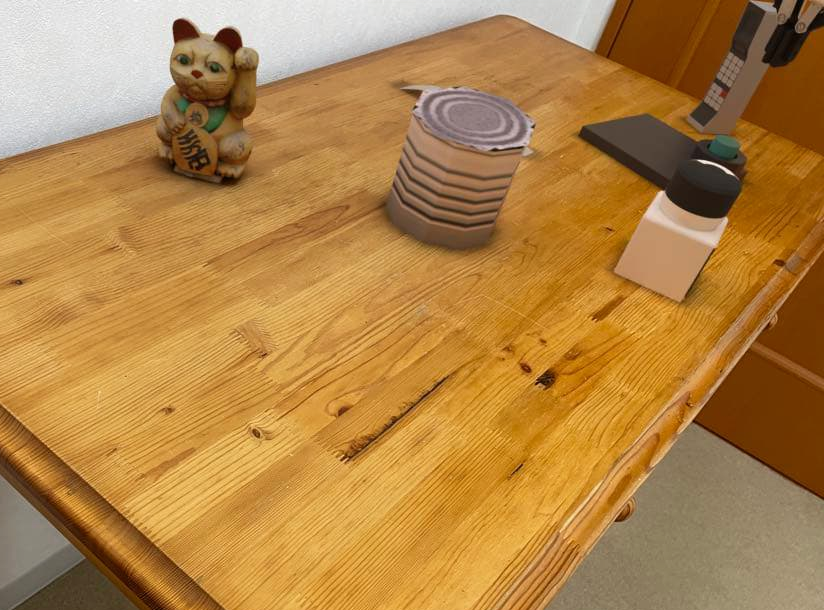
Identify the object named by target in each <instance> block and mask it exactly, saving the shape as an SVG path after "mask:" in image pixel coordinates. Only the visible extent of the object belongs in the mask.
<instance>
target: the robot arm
mask: <svg viewBox="0 0 824 610" xmlns="http://www.w3.org/2000/svg"><path fill="white" fill-rule="evenodd" d="M773 1H774V2H773V3H775V6H776V11H777V17H776V22H777V24H778V25H777V27H776V29H775V30H774V32H773V34H772V36H771V38H770V39H769V41H768V43H767V45H766V47H765V49H764V51H765V52H766V53H765V55H764V56H763V58H762V60H761V62H763V63H765V64H768V63H769V64H770V65H769V67H771V68H772V69H773V68H774V69H776V68H782V67H786V66H788V65H789V64H790V63H793V61H794V60H796V58H797V56H798V55H799V53H800V51H801V49H802V48H803V46H804V44H805V43H806V41H807V39H808V38H809V35H810V34H811V33H812V32H816V31H817V30H819V29H821V28H824V0H773ZM807 1H809V2H811V3H810V5H809V6H808V8H807V9H806V10H805V11H804V8H805V6H806V4H807ZM803 11H804V13H803Z"/></svg>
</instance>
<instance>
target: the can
mask: <svg viewBox="0 0 824 610" xmlns="http://www.w3.org/2000/svg"><path fill="white" fill-rule="evenodd" d="M441 88H442V89H434V90H425V91H422V93H421V94H420V96H419V98H418V100H417V101H416V103H415V104H414V106H413V108H412V109H411V112H412V116H411V119H410V121H409V122H410V123H409V125H408V130H407V132H406V136H405V140H404V142H403V147H402V150H401V154H400V157H399V160H398V164H397V167H396V171H395V174H394V177H393V181H392V184H391V188H390V192H389V194H388V198H387V201H386V205H385V209H386V211H387V212H388V215H389V216H390V219H391V220H392V222H393V225H394V226H395V228H398V230H401V231H402V232H404V233H406V234H408V235H409V236H411V237H412V238H414V239H416V240H417V241H419V242H421V243H422V244H426V245H431V246H434V247H435V246H436V247H440V248H445V249H449V250H454V251H463V250H469V249H473V248H479V247H484V246H486V244H487V242H488V240H489V238H490V237H491V235H492V233H493V231H494V228H495V227H496V225H497V221H498V219H499V216H500V214H501V211H502V208H503V206H504V203H505V201H506V198H507V196H508V193H509V191H510V189H511V186H512V183H513V180H514V179H515V175H516V173H517V171H518V168H519V166H520V163H521V161H522V158H523V157H524V156H523V153H524V151H525V148H526V146H527V147H528V146H529V144H530V141H531V139H532V137H533V133H534V131H535V128H536V125H537V122H536V121H535V120H534V119H533V118H532V117H531V116H530V115H528V114H527V113H526V112H525V111H523V109H521V108H520V107H519V106H518V105H517V104H516V103H514V102H513V101H512V100H511V99H510V98H507V97H504V96H500V95H497V94H493V93H490V92H487V91H483V90H480V89H475V88H472V87H468V86H465V85H460V86H452V87H444V88H443V87H441Z"/></svg>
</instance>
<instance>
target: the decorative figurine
mask: <svg viewBox="0 0 824 610" xmlns="http://www.w3.org/2000/svg"><path fill="white" fill-rule="evenodd" d="M171 27H172V29H171V30H172V37H173V38H172V39H173V43H174V45H173V47H172V51H171V54H170V57H169V58H170V59H169V72H170V75H171V78H172V81H173V83H174V84H172V85H171V86H170V87H169V88H168V89H167V90H166V91H165V93H164V95H163V97H162V99H161V102H160V115H159V116H158V119H157V121H156V125H155V133H156V136H157V138H158V140H160V143H159V147H158V157H159V159H160V161H163V162H165V163H170V164H175V166H174V169H173V171H174V172H176V173H178V174H181V175H182V174H183V175H184V176H187V177H190V178H197V179H201V180H204V181H208V182H212V183H216V184H220V183H221V182H222V181H223V178H224V177H225V178H233V179H238V178H240V177H241V176H242V174H243V173H244V172H245V170H246V168H247V165H248V160H249V159H250V157H251V155H252V152H253V148H254V147H253V139H252V136H251V134H250V132H249V131H248V130H247V129H246V128H244V120H245V119H247V118H249V117H250V116H251V115H252V113H253V112H254V111H255V108H256V105H257V98H258V97H257V95H258V92H257V91H258V88H257V85H258V84H257V81H258V80H257V78H258V77H257V73H258V72H257V71H258V67H259V63H260V55H259V53H258V52H257V51H256V50H255V49H254V48H253V47H248V46H244V45H243V43H244V42H243V37H242V34H241V31H240V30H239V29H238V28H237V27H236V26H234V25H227V26H224V27H222V28H220V29H219V30H218V32H217V33H216V34H211V33H206V32H205V33H203V32H202V31H201V30H200V29H199V27H198V26H197V25H196V23H195V22H194V21H192V20H191V19H189V18H187V17H183V16H182V17H179V18H177V19H175V20H174V21H173V23H172V26H171Z"/></svg>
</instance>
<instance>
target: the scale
mask: <svg viewBox="0 0 824 610" xmlns="http://www.w3.org/2000/svg"><path fill="white" fill-rule="evenodd" d="M577 136H578V138H580V139H582V140H583V141H584V142H587V143H588V144H589V145H591V146H593V147H595V148H596V149H598V150H599V151H601V152H602V153H604V154H606V155H607V156H609V157H610V158H611V159H613V160H615V161H616V162H618V163H619V164H621V165H622V166H624V167H626V168H628V169H629V170H630V171H632V172H634V173H636V174H638V175H639V176H641V177H642V178H644V179H645V180H647V181H648V182H650V183H652V184H653V185H655V186H656V187H658V188H660V189H661V190H662V191H665V189H666V187H667V185H668V184H669V182H670V180H671V178H672V176H673V174H674V172H675V171H676V169H677V167H678V165H679V164H680V163H682V162H684V161H687V160H705V161H709V162H713V163H716V164H718V165H721V166H723V167H725V168H726V169H728V170H729V171H731V172H732V173H733V174H734V175H735V176H736V177H737V178H738V179H739V180H740V182H741V183H742V182H743V181H744V180H745V178H746V176H747V175H748V173H749V170H748V169H746V168H745V166H746V164H747V161H748V157H747V156H746V155H745V153H744V152H742V150H740V149H739V150H738V152H737V154H736V156H735V157H734V159H727V158H724V157H721V156H718V155H716V154H714V153H712V152H711V151H710V150H709V149H708V148H709V147H710V145H711V143H712V141H713V139H709V138H703V139H699V140H698V141H697V140H695V139H693V138H692V137H690V136H688V135H686V134H685V133H683V132H681V131H679V130H678V129H676V128H674V127H673V126H671V125H669V124H667V123H666V122H665V121H662V120H661V119H659V118H658V117H655V116H654V115H652V114H650V113H649V112H647V113H640V114H635V115H630V116H626V117H621V118H615V119H609V120H605V121H600V122H595V123H589V124H585V125H582V126H581V129H580V131H579V133H578V135H577Z"/></svg>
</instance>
